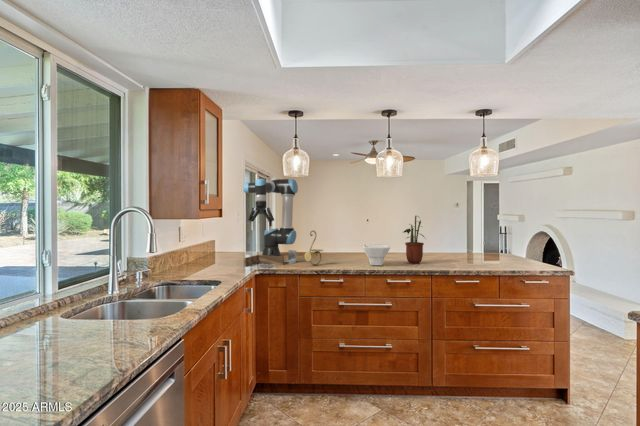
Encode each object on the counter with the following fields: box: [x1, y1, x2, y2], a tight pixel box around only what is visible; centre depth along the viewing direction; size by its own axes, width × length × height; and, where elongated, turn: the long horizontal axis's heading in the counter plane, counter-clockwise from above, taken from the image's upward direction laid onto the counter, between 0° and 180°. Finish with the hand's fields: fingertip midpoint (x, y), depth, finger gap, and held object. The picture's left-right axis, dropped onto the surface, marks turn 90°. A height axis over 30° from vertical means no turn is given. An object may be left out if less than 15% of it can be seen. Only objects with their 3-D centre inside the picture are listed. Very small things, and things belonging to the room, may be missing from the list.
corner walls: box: [243, 254, 285, 267], centre depth 273 cm, size 18×22×6 cm
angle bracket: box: [284, 249, 297, 265], centre depth 284 cm, size 9×6×9 cm, turn 157°
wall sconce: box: [304, 230, 324, 266], centre depth 274 cm, size 14×10×25 cm
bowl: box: [362, 244, 391, 266], centre depth 272 cm, size 19×19×14 cm
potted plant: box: [402, 215, 426, 265], centre depth 278 cm, size 17×16×35 cm
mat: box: [259, 264, 275, 269], centre depth 269 cm, size 10×13×1 cm
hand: (261, 230), depth 273 cm, fingers open, 13 cm apart
